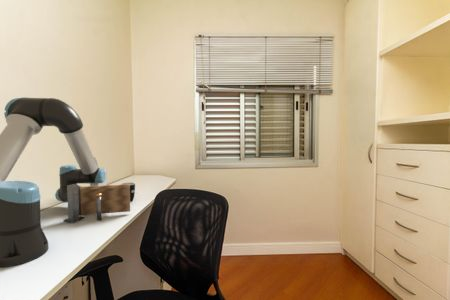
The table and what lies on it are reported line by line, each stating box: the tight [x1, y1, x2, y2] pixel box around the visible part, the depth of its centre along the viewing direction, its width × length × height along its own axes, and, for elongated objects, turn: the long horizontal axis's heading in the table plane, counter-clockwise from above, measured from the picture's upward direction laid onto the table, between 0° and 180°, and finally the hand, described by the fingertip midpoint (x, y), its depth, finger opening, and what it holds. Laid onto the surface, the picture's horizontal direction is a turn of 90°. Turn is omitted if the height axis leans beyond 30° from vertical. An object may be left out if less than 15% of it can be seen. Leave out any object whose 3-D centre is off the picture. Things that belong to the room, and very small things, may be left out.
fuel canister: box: [89, 156, 108, 186], centre depth 152 cm, size 15×5×25 cm, turn 5°
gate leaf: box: [78, 183, 131, 217], centre depth 115 cm, size 23×2×14 cm, turn 107°
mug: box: [117, 182, 136, 203], centre depth 142 cm, size 12×9×10 cm
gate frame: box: [62, 184, 102, 224], centre depth 109 cm, size 8×14×16 cm, turn 71°
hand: (120, 201), depth 119 cm, fingers closed
